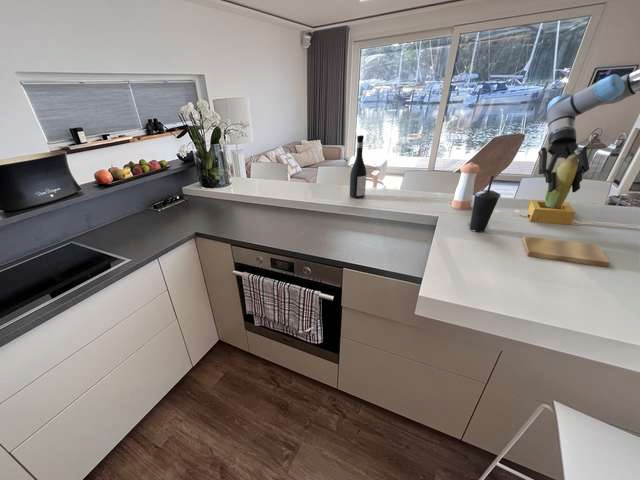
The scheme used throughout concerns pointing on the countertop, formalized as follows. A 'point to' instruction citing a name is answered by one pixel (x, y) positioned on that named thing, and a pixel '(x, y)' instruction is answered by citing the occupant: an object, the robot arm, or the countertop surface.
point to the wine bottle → (358, 173)
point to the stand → (550, 213)
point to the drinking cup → (483, 207)
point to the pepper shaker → (465, 186)
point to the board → (565, 251)
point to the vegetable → (562, 182)
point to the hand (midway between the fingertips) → (563, 190)
